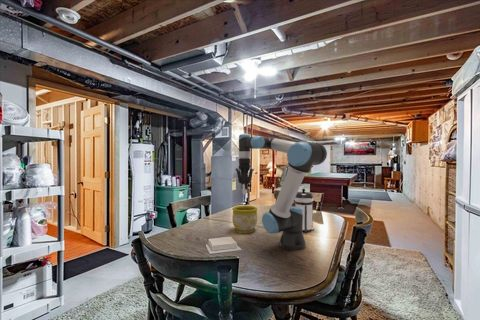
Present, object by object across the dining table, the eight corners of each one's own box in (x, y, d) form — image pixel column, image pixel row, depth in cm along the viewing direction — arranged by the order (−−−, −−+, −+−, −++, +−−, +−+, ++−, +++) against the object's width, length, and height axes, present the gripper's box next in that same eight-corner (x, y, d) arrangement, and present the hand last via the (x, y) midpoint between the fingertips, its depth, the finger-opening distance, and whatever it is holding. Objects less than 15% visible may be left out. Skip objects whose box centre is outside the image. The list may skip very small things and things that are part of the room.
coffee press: (311, 227, 185) (312, 187, 184) (316, 233, 169) (316, 190, 168) (288, 226, 186) (288, 186, 186) (290, 233, 170) (290, 189, 170)
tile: (208, 238, 148) (212, 245, 137) (230, 236, 153) (236, 243, 141) (208, 243, 148) (212, 251, 137) (230, 241, 153) (236, 248, 141)
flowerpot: (247, 236, 163) (247, 211, 163) (227, 231, 174) (226, 208, 174) (262, 230, 178) (262, 207, 177) (242, 225, 188) (242, 204, 188)
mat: (205, 245, 147) (205, 244, 147) (234, 242, 153) (234, 241, 153) (210, 254, 134) (210, 253, 134) (241, 250, 139) (241, 249, 139)
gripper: (256, 158, 161) (256, 194, 161) (239, 157, 168) (239, 192, 168) (250, 158, 155) (250, 195, 155) (233, 158, 161) (233, 193, 162)
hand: (244, 193), depth 162 cm, fingers closed
